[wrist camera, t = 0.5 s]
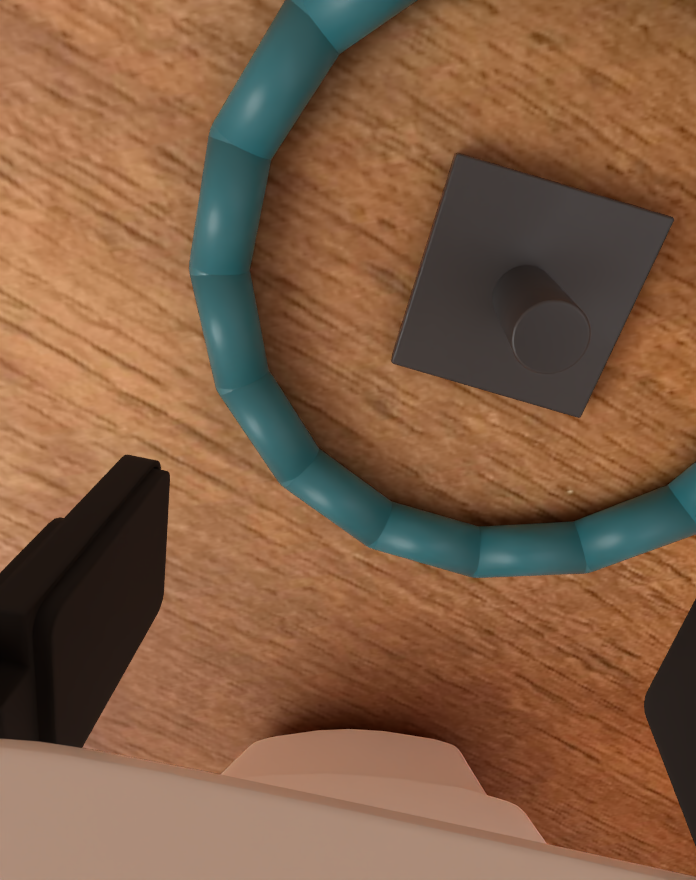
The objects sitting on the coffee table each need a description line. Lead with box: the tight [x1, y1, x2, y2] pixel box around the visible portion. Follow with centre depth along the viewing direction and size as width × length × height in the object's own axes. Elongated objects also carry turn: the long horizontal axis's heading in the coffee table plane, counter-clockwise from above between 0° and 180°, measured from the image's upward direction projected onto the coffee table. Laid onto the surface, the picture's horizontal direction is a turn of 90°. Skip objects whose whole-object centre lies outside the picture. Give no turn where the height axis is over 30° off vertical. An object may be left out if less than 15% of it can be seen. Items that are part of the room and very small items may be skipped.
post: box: [391, 153, 674, 418], centre depth 19 cm, size 7×7×6 cm
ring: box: [189, 0, 696, 578], centre depth 21 cm, size 22×22×2 cm
